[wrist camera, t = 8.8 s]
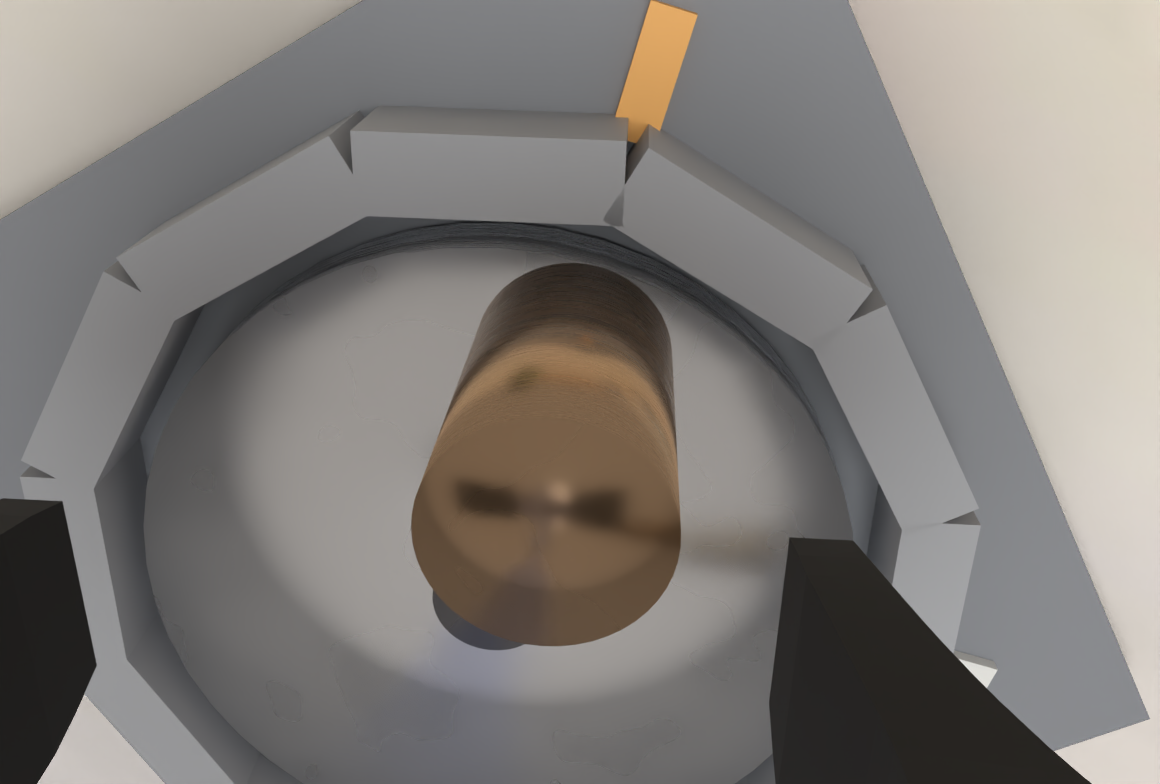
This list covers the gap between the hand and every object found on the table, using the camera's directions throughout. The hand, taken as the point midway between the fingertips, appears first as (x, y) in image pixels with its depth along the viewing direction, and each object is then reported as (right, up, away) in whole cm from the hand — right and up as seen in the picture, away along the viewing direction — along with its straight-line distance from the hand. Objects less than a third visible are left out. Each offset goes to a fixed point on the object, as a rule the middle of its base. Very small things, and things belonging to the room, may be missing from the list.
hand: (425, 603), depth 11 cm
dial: (0, -1, +9) cm, 9 cm away
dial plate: (0, 0, +10) cm, 10 cm away
